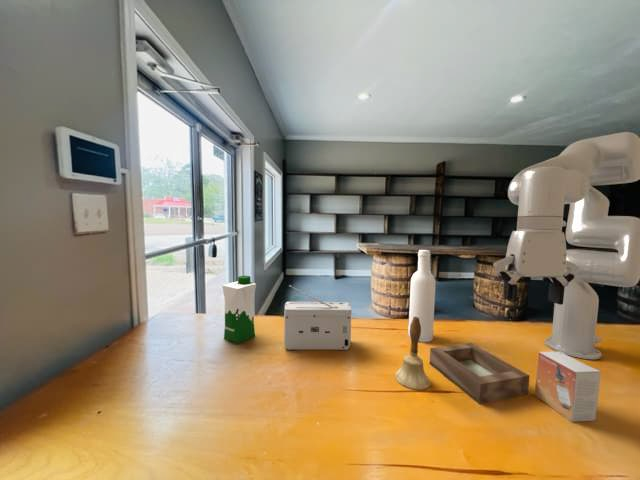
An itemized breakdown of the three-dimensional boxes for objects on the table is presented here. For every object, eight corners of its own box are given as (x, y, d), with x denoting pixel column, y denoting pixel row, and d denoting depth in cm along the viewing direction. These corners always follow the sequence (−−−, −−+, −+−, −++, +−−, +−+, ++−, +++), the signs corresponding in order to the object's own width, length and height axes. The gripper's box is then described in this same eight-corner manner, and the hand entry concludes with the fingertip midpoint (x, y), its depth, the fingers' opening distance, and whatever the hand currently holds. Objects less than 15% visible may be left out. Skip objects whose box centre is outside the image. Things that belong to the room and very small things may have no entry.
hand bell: (428, 373, 66) (431, 313, 65) (431, 393, 58) (435, 326, 57) (395, 367, 68) (398, 309, 67) (394, 385, 60) (396, 320, 59)
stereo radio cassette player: (348, 339, 84) (350, 280, 83) (352, 352, 76) (354, 286, 74) (285, 339, 83) (285, 279, 82) (282, 352, 75) (282, 286, 74)
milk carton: (258, 335, 86) (258, 277, 84) (237, 346, 78) (237, 282, 77) (241, 329, 90) (240, 274, 89) (219, 339, 83) (218, 278, 81)
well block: (470, 357, 74) (471, 342, 73) (528, 394, 58) (529, 375, 58) (429, 363, 70) (430, 348, 70) (479, 404, 55) (480, 384, 54)
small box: (533, 395, 58) (537, 351, 57) (556, 394, 58) (559, 350, 58) (571, 423, 50) (575, 371, 49) (596, 421, 50) (601, 371, 50)
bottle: (435, 343, 82) (440, 252, 80) (409, 341, 84) (413, 251, 81) (429, 333, 90) (434, 249, 88) (406, 331, 91) (410, 248, 89)
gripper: (564, 226, 59) (558, 298, 60) (487, 224, 60) (482, 295, 61) (598, 226, 51) (590, 309, 52) (509, 224, 52) (503, 305, 53)
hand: (532, 301), depth 57 cm, fingers open, 9 cm apart
